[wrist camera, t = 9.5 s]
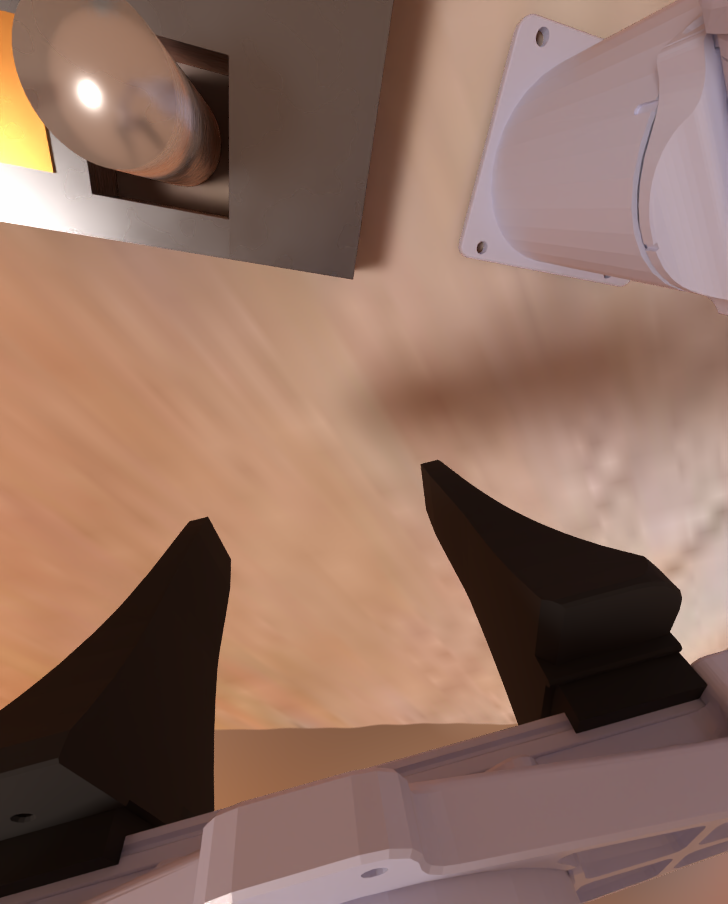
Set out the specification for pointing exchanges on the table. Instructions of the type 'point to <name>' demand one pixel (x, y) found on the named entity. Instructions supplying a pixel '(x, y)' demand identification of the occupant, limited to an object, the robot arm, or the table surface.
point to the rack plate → (250, 135)
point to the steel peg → (113, 90)
